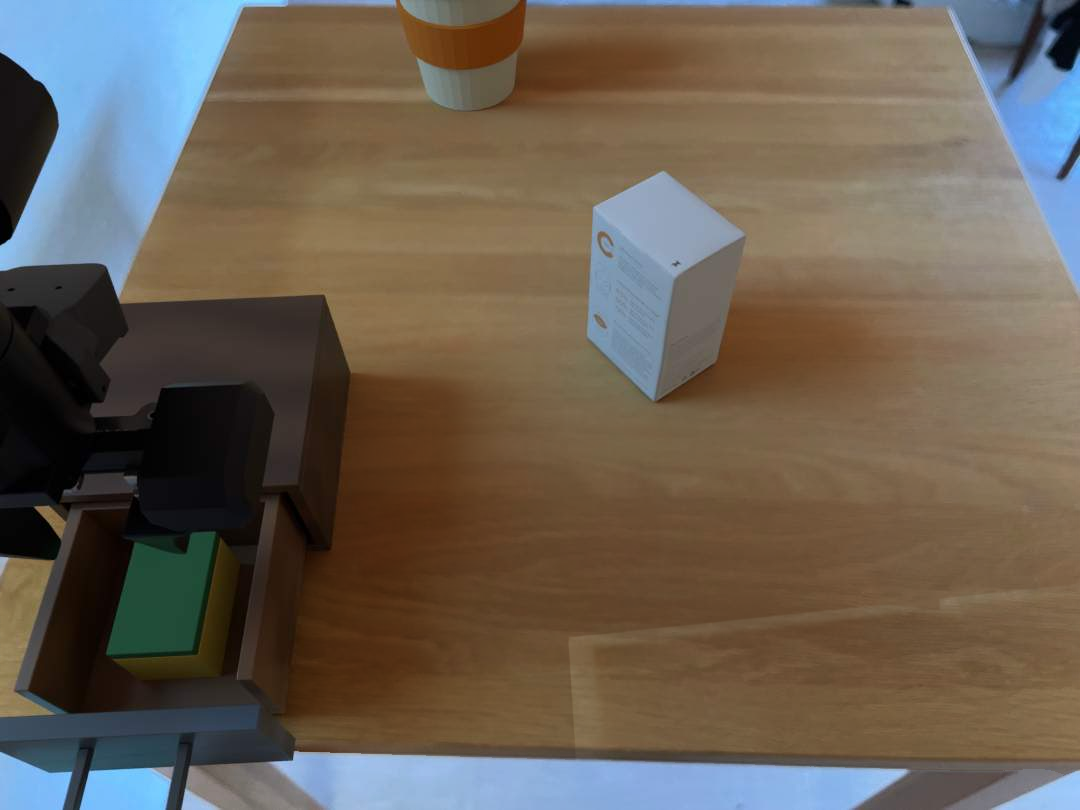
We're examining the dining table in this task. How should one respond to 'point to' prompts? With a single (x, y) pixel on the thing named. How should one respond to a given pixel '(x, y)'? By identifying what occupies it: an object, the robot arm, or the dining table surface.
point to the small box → (661, 282)
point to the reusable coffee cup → (465, 48)
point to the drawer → (168, 704)
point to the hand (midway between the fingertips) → (120, 548)
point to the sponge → (176, 610)
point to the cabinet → (241, 354)
